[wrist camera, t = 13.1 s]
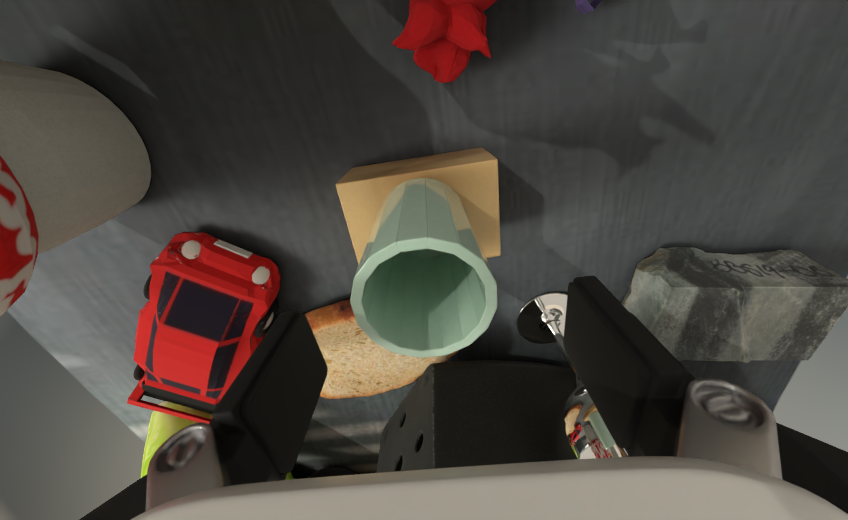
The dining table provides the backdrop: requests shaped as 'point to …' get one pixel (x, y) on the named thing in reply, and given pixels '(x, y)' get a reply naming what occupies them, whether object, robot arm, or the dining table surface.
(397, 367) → the slice of bread
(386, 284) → the cup
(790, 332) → the stone block
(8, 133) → the decorative object
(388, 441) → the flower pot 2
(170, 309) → the toy car
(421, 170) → the maple block
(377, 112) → the dining table surface
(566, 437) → the wineglass
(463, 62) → the figurine
